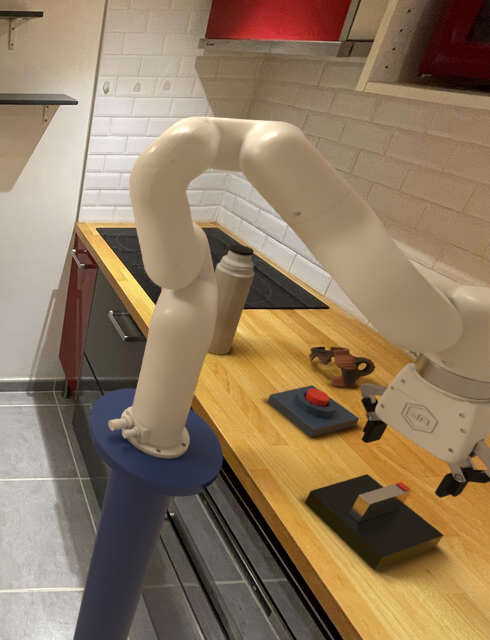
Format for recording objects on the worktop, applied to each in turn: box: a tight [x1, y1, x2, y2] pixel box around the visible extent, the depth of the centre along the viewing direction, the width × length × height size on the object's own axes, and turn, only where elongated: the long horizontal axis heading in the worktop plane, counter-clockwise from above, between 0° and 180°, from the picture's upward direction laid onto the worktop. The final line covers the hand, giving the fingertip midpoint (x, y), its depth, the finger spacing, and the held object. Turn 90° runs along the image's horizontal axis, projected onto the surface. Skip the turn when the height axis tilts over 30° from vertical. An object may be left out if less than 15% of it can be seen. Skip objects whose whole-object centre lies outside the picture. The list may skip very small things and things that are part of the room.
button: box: [305, 388, 330, 407], centre depth 93 cm, size 4×4×2 cm
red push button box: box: [267, 384, 360, 438], centre depth 94 cm, size 12×10×4 cm
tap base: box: [304, 473, 445, 571], centre depth 72 cm, size 13×11×3 cm
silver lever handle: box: [349, 481, 412, 523], centre depth 71 cm, size 9×2×5 cm, turn 105°
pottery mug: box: [308, 346, 376, 388], centre depth 106 cm, size 12×10×8 cm
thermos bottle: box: [207, 244, 255, 355], centre depth 111 cm, size 8×8×28 cm
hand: (405, 465), depth 67 cm, fingers open, 9 cm apart
